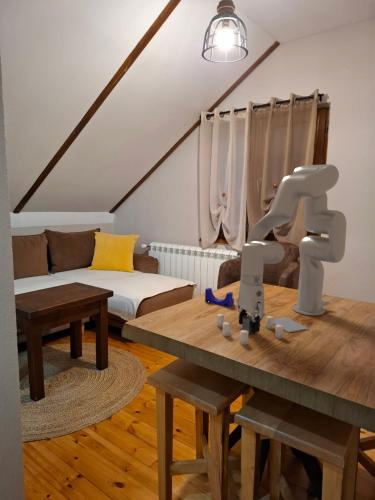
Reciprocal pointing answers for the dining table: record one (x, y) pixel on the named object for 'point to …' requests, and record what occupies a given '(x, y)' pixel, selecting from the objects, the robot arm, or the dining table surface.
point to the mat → (289, 325)
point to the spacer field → (244, 332)
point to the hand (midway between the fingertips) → (248, 327)
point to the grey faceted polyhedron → (247, 323)
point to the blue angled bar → (212, 299)
